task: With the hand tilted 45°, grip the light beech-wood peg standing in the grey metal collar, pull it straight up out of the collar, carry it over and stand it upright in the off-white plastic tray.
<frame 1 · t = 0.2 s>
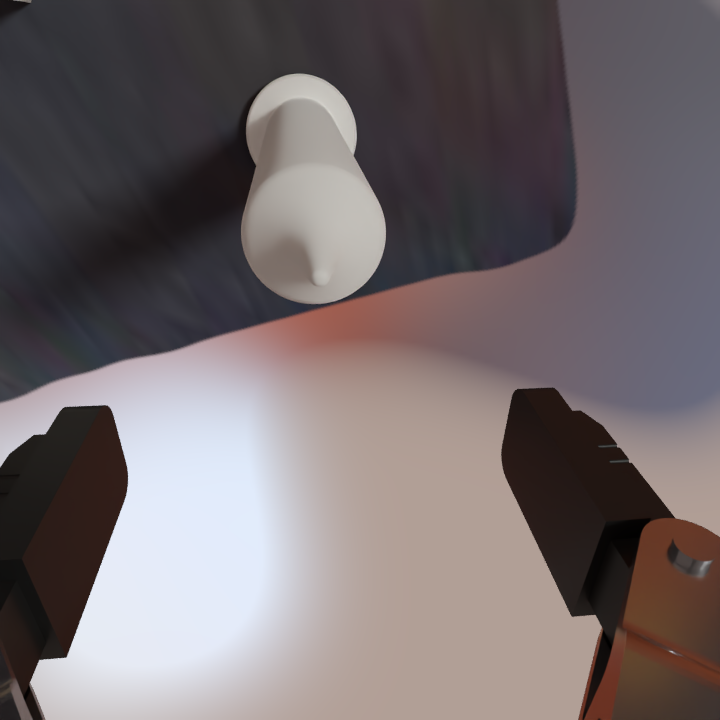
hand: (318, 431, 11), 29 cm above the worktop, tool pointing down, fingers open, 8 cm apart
candle: (301, 134, 35), on the worktop
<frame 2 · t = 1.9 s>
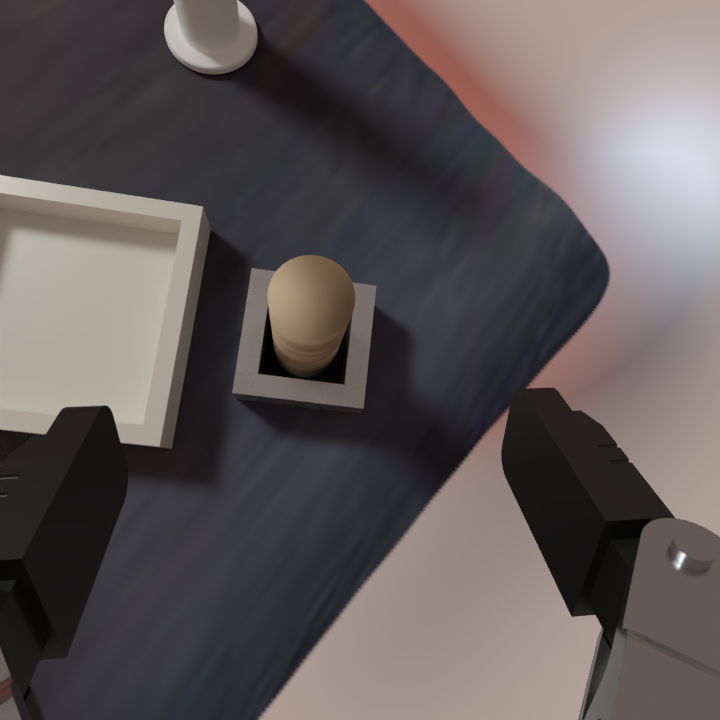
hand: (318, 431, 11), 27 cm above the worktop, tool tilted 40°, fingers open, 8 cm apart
collar: (305, 348, 39), on the worktop
tray: (73, 318, 37), on the worktop
peg: (308, 327, 33), in the collar
candle: (212, 38, 43), on the worktop
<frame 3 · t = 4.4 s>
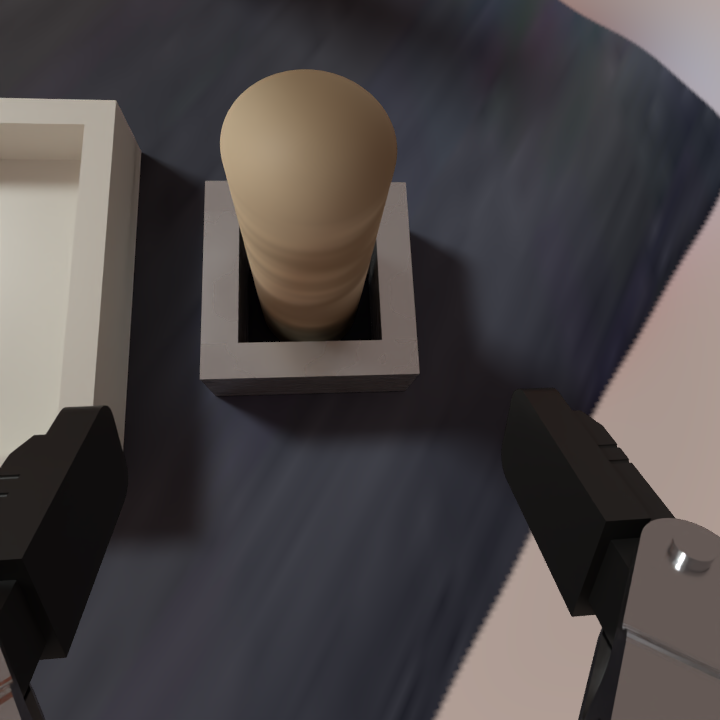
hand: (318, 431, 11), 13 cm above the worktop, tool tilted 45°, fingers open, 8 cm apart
collar: (309, 304, 25), on the worktop
peg: (309, 248, 19), in the collar
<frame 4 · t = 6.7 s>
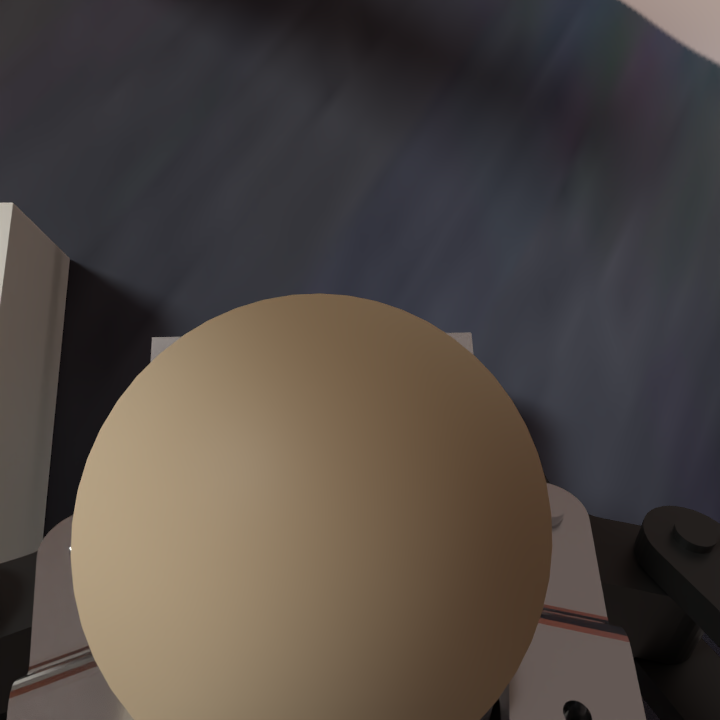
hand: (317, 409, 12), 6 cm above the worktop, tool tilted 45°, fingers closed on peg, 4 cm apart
collar: (318, 498, 17), on the worktop
peg: (318, 503, 11), in the collar, touching gripper
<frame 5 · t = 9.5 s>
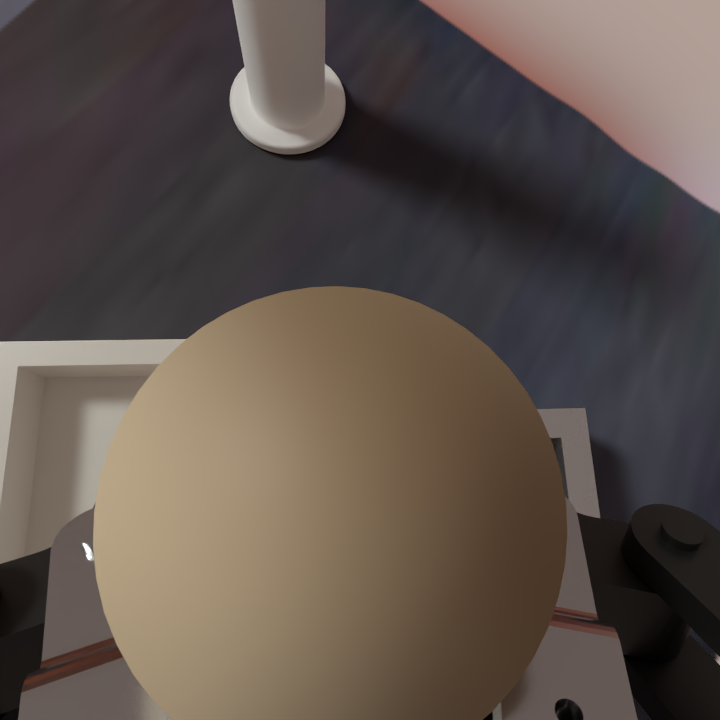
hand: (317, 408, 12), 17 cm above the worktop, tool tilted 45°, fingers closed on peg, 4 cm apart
collar: (488, 499, 29), on the worktop
tray: (179, 510, 27), on the worktop
peg: (324, 501, 11), point 18 cm above the worktop, touching gripper
candle: (288, 108, 34), on the worktop
when the fingers open (8 cm above the worktop, at t = 12.3 s): peg drops 1 cm, resting on tray.
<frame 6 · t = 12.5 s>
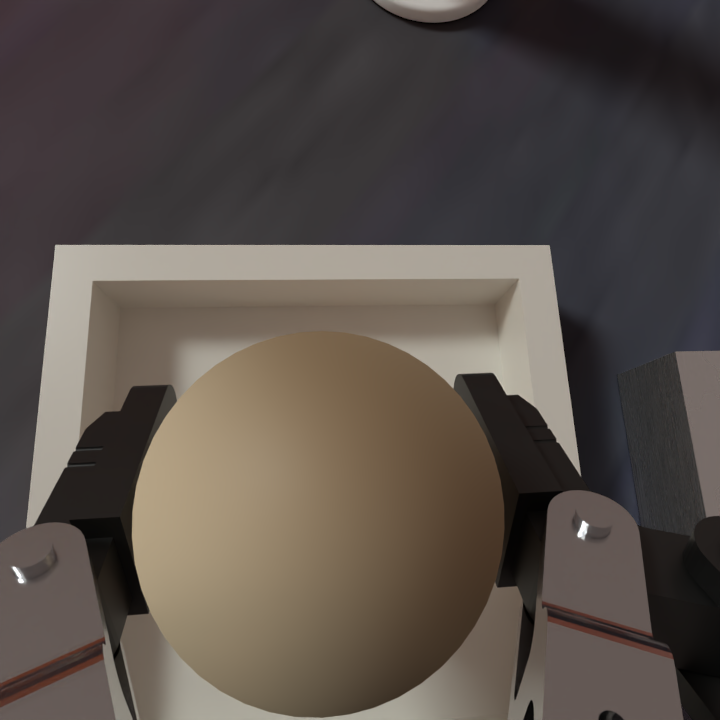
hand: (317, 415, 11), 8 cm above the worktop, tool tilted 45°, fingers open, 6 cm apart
tray: (317, 498, 19), on the worktop
peg: (322, 504, 12), in the tray, point 7 cm above the worktop
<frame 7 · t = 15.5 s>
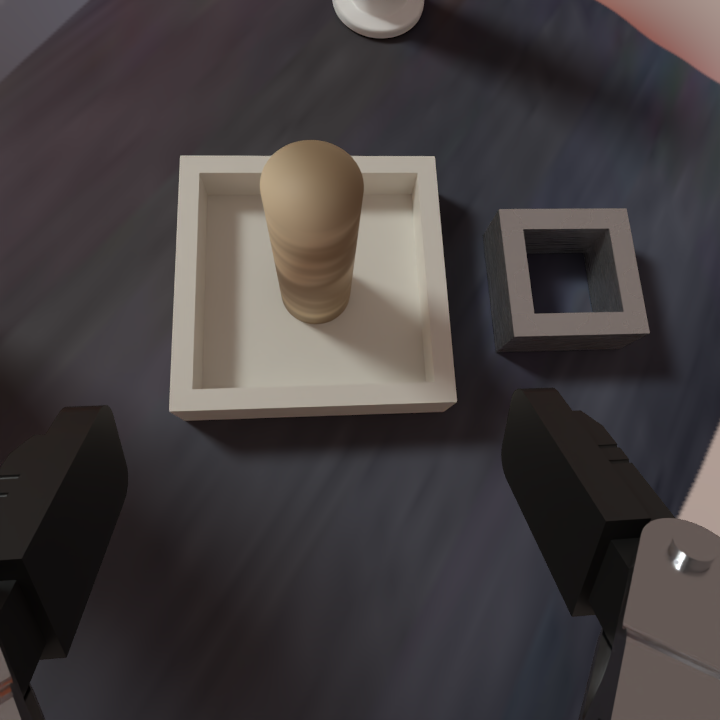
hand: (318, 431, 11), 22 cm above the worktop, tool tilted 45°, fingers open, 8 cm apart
collar: (549, 291, 37), on the worktop
tray: (313, 295, 35), on the worktop
peg: (314, 248, 29), in the tray, point 7 cm above the worktop
candle: (377, 4, 42), on the worktop
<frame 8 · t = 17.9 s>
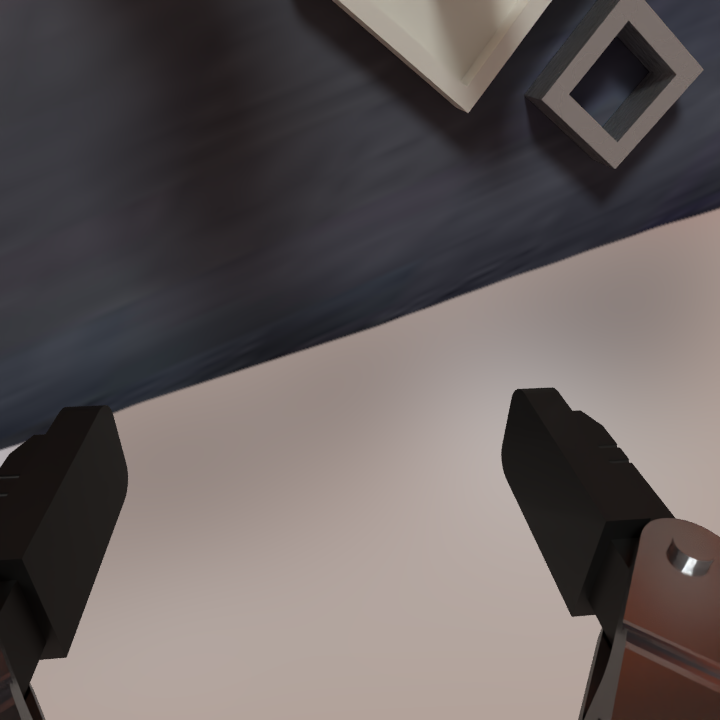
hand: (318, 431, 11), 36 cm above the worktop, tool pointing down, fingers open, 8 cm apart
collar: (599, 81, 42), on the worktop
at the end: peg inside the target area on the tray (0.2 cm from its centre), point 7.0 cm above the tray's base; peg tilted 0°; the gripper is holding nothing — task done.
